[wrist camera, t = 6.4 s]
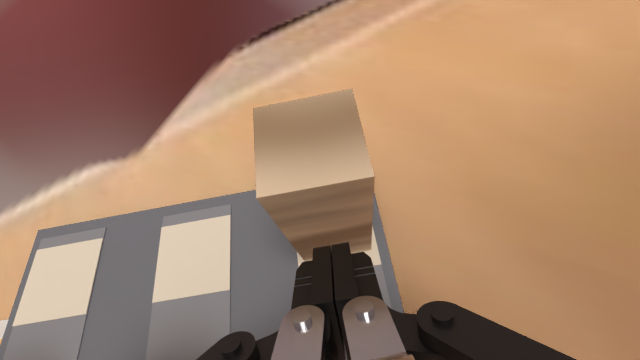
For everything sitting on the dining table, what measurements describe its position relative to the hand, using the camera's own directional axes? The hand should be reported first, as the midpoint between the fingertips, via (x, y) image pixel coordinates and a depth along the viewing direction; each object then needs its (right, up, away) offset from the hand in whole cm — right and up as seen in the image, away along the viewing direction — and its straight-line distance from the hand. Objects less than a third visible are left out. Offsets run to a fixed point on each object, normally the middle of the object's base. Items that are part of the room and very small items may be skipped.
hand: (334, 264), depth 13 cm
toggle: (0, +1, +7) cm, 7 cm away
